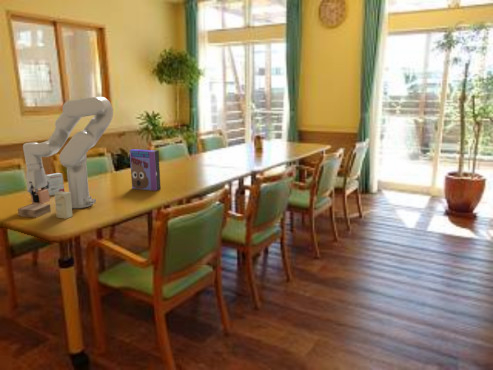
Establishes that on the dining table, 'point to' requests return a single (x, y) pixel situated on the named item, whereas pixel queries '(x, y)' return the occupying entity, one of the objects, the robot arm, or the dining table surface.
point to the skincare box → (63, 204)
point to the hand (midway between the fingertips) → (40, 200)
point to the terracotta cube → (42, 196)
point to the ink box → (55, 183)
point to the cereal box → (145, 169)
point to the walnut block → (34, 210)
